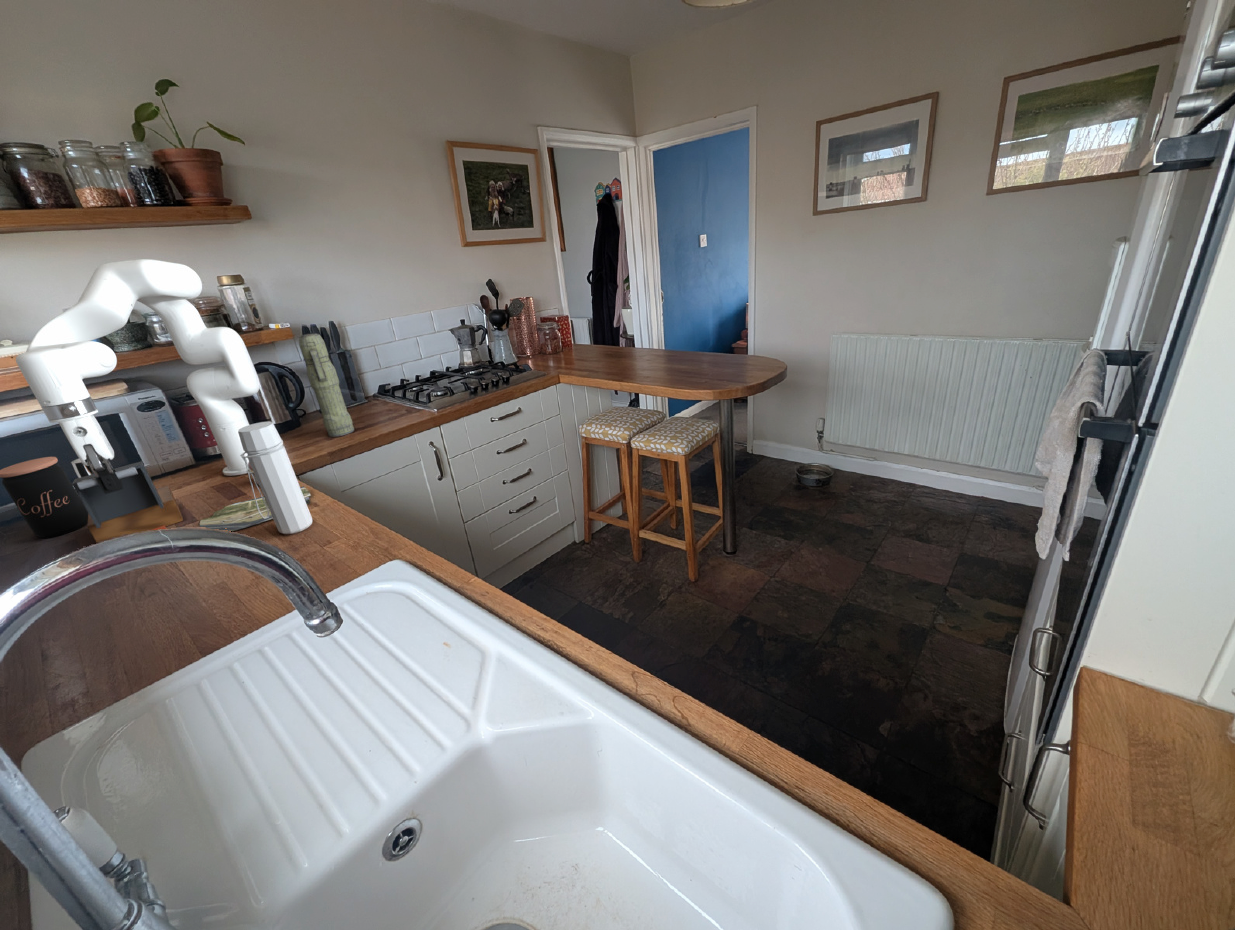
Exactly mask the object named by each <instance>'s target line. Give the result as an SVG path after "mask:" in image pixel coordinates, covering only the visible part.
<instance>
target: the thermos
mask: <svg viewBox="0 0 1235 930" xmlns="http://www.w3.org/2000/svg"><path fill="white" fill-rule="evenodd" d="M298 345H299V349H300V352H301V354H302V358H303V360H304V362H305V366H306V376H307V378H308V381H309V384H310V388H311V389H312V390H314V394H315V397H316V400H317V402H318V405H319V408H320V412H321V414H322V422H323V425H324V428H325V430H326V431H327V435H328V437H331V438H335V437H336V438H337V437H342V436H346V435H349V434H352V433H353V432H354V431H355V427H354V425H353V423H354V422H353V419H352V416H351V414H350V413H349V412H348V410H347V406H346V402H345V400H344V396H343V394H342V390H341V387H340V380H339V377H338V373H337V370H336V367H335V365H333V363H332V361H331V359H330V357H329V356H330V355H329V351H328V349H327V346H326V343H325V340H324V339H323V337H322V336H321V335H320V333H317V332H313V333H312V332H311V333H305V334H302V335H301V336H299V338H298Z"/></svg>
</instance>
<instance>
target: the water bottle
mask: <svg viewBox="0 0 1235 930" xmlns="http://www.w3.org/2000/svg"><path fill="white" fill-rule="evenodd" d="M238 433H239V437H240V440H241V443H242V447H243V450H244V451H245V452H244V453H243V454H242V455H240V456H241V457H242V459H243V460H244V461H245V464H247V462H246V461H247V460H246V458H248V460H249V462H250V464H251V467H252V469H253V472H254V474H255V476H256V479H257V481H258V483H259V485H258V484H257V482H256V481H255V479H254V477H253V475H252V473H251V471H250V469H249V471H250V473H251V475H252V476H251V475H250V474H249V472H248V468H249V466H248V464H247V465H246V468H247V466H248V468H247V472H248V473H247V475H248V479H249V482H250V486H251V490H252V494H253V497H254V498H253V499H255V502H256V505H257V509H258V511H259V512H260V510H259V508H258V504H257V500H256V498H257V497H256V493H255V489H254V487H253V483H252V480H251V477H252V479H253V481H254V484H255V486H256V488H257V490H258V493H259V494H260V497H262V499H263V501H264V503H265V506H266V508H267V510H268V514H267V516H266V517H263V515H262V514H261V512H260V514H261V516H262V517H263V518H264V519H266V518H269V515H270V512H271V514H272V517H273V519H272V520H273V522H274V524H275V526H276V528H277V531H278V533H281V534H282V535H294V534H297V533H300V532H302V531H304V530H307V529H308V528H309V527H310V526H311V525H312V524H313V517H312V514H311V512H310V510H309V507H308V504H306V501H305V499H304V496H303V494H302V491H301V488H300V487H301V486H300V483H299V481H298V478H297V476H296V473H295V471H294V468H293V465H292V463H291V460H290V458H289V455H288V453H287V452H288V451H287V450H286V448H285V445H284V441H283V439H282V438H281V436H280V434H279V432H278V430H277V428H276V425H275V424H274V422H273V421H259V422H256V423H252V424H249V425H248V426H245V427H243V428H241V429H239V430H238ZM245 453H247V454H248V455H247V456H244V454H245ZM263 496H264V498H265V500H266V502H267V504H266V502H265V500H264V498H263ZM267 505H268V507H269V509H268V507H267ZM269 510H270V512H269Z"/></svg>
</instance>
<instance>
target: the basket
mask: <svg viewBox="0 0 1235 930" xmlns="http://www.w3.org/2000/svg"><path fill="white" fill-rule="evenodd" d="M114 469H115V471H116V472H115V473H116V475H117V477H118V479H120V480H121V482H122V484H123V489H122V490H119V491H115V492H112V493H108V494H104V492H103V491H102V489H101V487H100V485H99V483H98V481H97V480H96V478H95V477H96V476H95V474H92V475H88V476H84V477H81V478H78V477H77V478H74V480H73V481H72V482H71V483H72V485H73V487H74V489H75V490H76V492H77V494H78V495H79V497H80V499H81V501H82V502H83V504H84V506H85V508H86V509H87V511H88V513H89V515H90V517H91V518H92V520H93V522H94V524H95V526H96V527H97V529H98V528H101V523H102V522H104V521H107V520H110V519H114V518H117V517H120V516H123V515H126V514H130V513H133V512H136V511H139V510H143V509H146V508H149V507H152V506H155V505H159V506H160V508H164V506H163V502H162V500H161V498H160V496H159V494H158V492H157V490H156V489H157V488H156V485H155V484H154V482H153V480H152V477H151V476H150V474H149V472H148V470H147V468H146V465H145V463H144V462H143V461H142V460H140V461H138V462H137V461H136V462H133V463H130V464H126V465H123V466H119V467H115V468H113V470H114Z"/></svg>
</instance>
